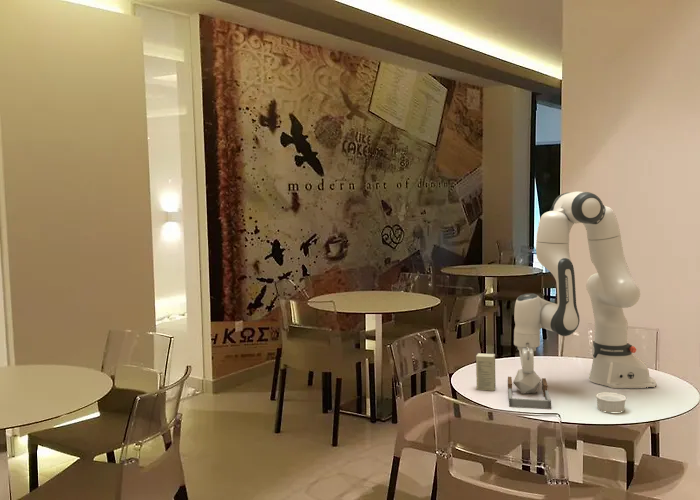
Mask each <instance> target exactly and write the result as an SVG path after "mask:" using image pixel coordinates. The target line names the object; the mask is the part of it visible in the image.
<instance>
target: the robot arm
mask: <svg viewBox="0 0 700 500" xmlns="http://www.w3.org/2000/svg"><path fill="white" fill-rule="evenodd" d="M575 224H583V225H584V228H585V230H586V236H587V237H586V238H587V243H588V250H589V257H590V260H591V263H592V264H593V266H594V267H595V270H596V272H595V273H593V274H591V275H590V276H589V277H588V279H587V280H586V285H585V287H586V291H587V293H588V295H589V297H590V301H591V306H592V307H591V308H592V312H593V317H594V339H593V341H592V356H593V358H592V365H591V369H590V373H589V376H588V380H589V381H590V382H592V383H595V384H598V385H601V386H602V385H603V386H605V387H608V388H612V389H649V388H648V387H654V388H656V387H657V381H656V379H654V378H653V377H652V376H650V371H649V368H648V365H646V363H644V362H643V361H642V360H641V359H640V358H638V356H636V355H634V354H635V353H636V352H637V348H636V347H635V346H633V345H632V344H630V343H629V342H628V326H629V325H628V319H627V318H626V315H625V313H624V310H623V309H626V308H631V307H633V306H635V305H636V304H637V303H638V302H639V299H640V297H641V289H640V287H639V286H638V285H639V284H637V283H636V282H635V280H634V278H633V276H632V272H631V271H630V269H629V266H628V264H627V261H626V258H625V257H626V256H625V254H624V249H623V248H624V247H623V243H622V235H621V231H620V225H619V222H618V218H617V216H616V213H615V211H614V210H613V208H612V207H609V206H606V205H604V204H603V201H602V200H601V198H600V197H599V196H597V194H594V193H593V192H589V191H578V190H576V191H572V192H571V191H570V192H564V193H561V194H560V195H558V196H557V197H556V198H555V199H554V201H553V203H552V206H551V208H550V209H549V211H546V212H544V213H543V214H542V215H541V216H540V217H539V222H538V226H537V227H538V228H537V233H536V242H535V243H536V245H535V253H536V259H537V261H538V262H539V263H540V264H541V265H542V267H543V268H545V269H547V270H548V271H549V272H550V273H551V275H552V276H553V278H554V279H555V282H556V297H557V303H555V302H552V301H548V300H546V299H544V298H541V296H539V295H538V294H536V293H524V294H521V295H519V296H518V297H517V298H516V300H515V303H514V310H513V311H514V312H513V313H514V316H513V317H514V318H513V319H514V324H515V325H514V329H513V345H514V346H515V347H517V350H518V351H519V352H518V353H519V358H520V365H521V369H522V371H523V373H533V371H535V370H534V369H535V368H534V367H535V365H534V363H535V362H534V357H535V356H534V352H535V351H537V348H539V347H540V345H541V330H542V329H545V330H547V331H550V332H553V333H555V334H556V335H559V336H561V337H568V336H571V335H572V334H573V333H575V331H576V330H577V329H578V327H579V324H580V314H579V311H578V307H577V294H576V278H575V269H574V265H573V262H572V259H571V255H570V233H571V229H572V227H573V226H574V225H575ZM655 386H656V387H655ZM646 387H647V388H646Z"/></svg>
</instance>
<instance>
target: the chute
mask: <svg viewBox="0 0 700 500" xmlns="http://www.w3.org/2000/svg"><path fill="white" fill-rule="evenodd" d="M548 387H549V385H548V382H547V379H546V378H545V377H544V378H543V377H541V390H542V391H541V392H542V395H543V397H544V398H545V390H548V389H549V388H548ZM508 388H510V389H511V390H512V391H513V379H512V376H507V389H508ZM548 391H549V390H548Z"/></svg>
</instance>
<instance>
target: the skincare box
mask: <svg viewBox="0 0 700 500" xmlns="http://www.w3.org/2000/svg"><path fill="white" fill-rule="evenodd" d="M475 368H476V369H475V370H476V372H475V373H476V375H475V376H476V390H477V391H478V390H479V391H490V392H493V391H495V389H496V383H497V382H496V354H495V353H479V352H478V353H476V355H475Z"/></svg>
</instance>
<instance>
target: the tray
mask: <svg viewBox="0 0 700 500" xmlns="http://www.w3.org/2000/svg"><path fill="white" fill-rule="evenodd" d="M507 392H508V393H507V394H508V395H507V396H508V398H507V399H508V406H509V407H511V408H512V407H513V408H514V407H516V408H531V409H547V410H549V409H550V410H551V409H552V399H551V396H550V393H549V390H545V397H544V399H534V398H519V397H518V398H516V397H515V398H513V389H512V390H511V389H510V388H508V387H507Z"/></svg>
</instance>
